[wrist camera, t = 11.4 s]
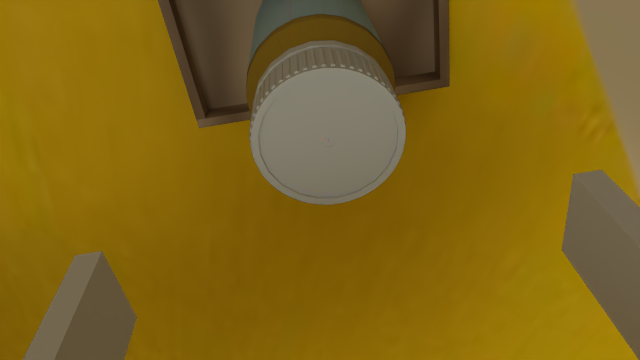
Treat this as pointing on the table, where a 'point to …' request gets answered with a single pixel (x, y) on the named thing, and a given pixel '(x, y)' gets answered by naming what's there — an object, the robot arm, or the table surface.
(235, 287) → the table surface
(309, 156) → the bottle
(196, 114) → the tray
